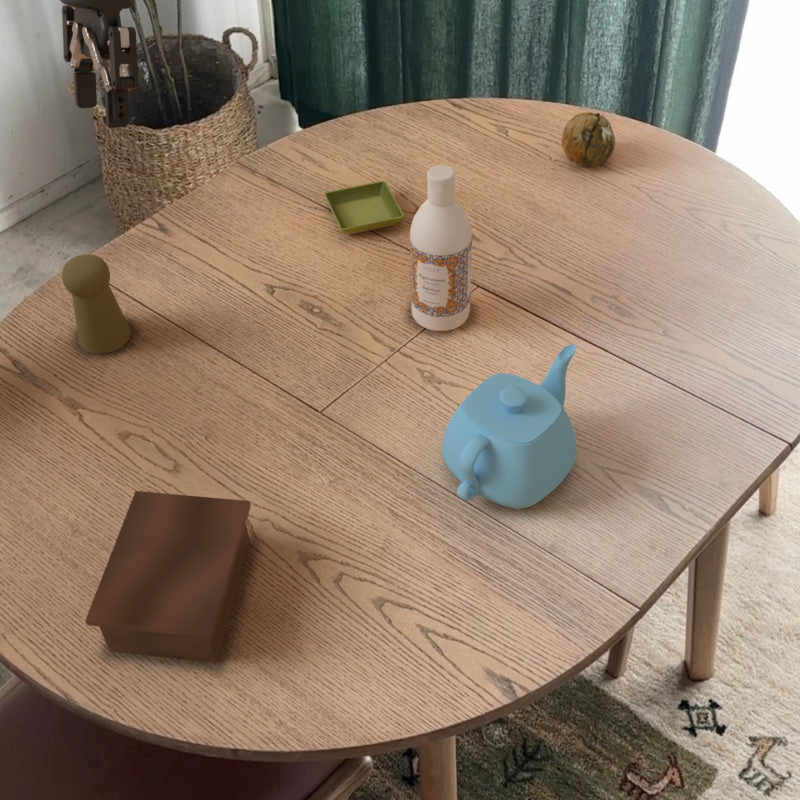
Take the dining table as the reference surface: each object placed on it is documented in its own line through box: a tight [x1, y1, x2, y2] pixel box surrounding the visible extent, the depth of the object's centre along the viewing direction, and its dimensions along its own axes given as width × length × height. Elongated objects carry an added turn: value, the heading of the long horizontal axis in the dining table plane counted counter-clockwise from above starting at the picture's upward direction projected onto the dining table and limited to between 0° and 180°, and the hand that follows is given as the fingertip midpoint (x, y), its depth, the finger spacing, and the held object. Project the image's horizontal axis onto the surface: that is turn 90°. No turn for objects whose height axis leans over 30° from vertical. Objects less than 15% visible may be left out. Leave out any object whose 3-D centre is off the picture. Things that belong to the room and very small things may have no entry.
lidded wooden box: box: [84, 490, 252, 663], centre depth 98 cm, size 11×14×6 cm
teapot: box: [441, 343, 578, 509], centre depth 106 cm, size 13×11×18 cm
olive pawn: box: [61, 253, 132, 355], centre depth 121 cm, size 6×6×11 cm
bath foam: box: [409, 164, 473, 332], centre depth 119 cm, size 7×7×20 cm
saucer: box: [323, 180, 405, 235], centre depth 139 cm, size 9×9×2 cm
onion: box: [560, 111, 616, 169], centre depth 145 cm, size 8×8×8 cm
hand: (101, 116), depth 115 cm, fingers open, 8 cm apart
